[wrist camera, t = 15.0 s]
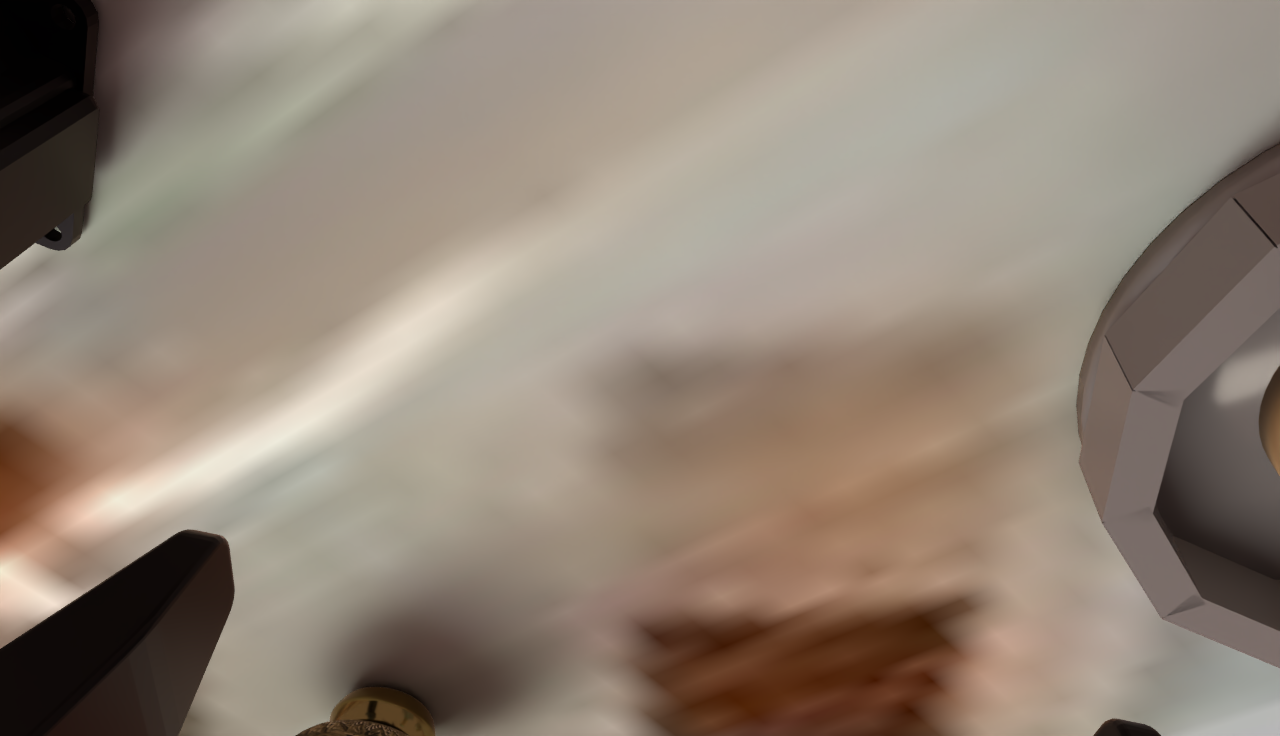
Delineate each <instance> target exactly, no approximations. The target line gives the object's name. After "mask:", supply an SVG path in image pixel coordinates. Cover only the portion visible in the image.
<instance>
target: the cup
mask: <svg viewBox="0 0 1280 736" xmlns="http://www.w3.org/2000/svg"><path fill="white" fill-rule="evenodd" d="M296 736H435V726H434V721H433V718H432V715H431V714H430V712H429V711H428V709H427V708H426V707H425V706H424V705H423V704H422V703H421V702H420V701H418V700H417V699H415V698H414V697H412V696H410V695H408V694H406V693H404V692H401V691H399V690H395V689H391V688H386V687H364V688H360V689H357V690H355V691H353V692H351V693H349V694H348V695H347V696H345V697H344V698H343V699H342V700H341V701H340V702H339V703H338V704H337V705H336V706H335V708H334V709H333V711H332V713H331V716H330V722H326V723H322V724H318V725H316V726H313V727H311V728H309V729H306V730H304V731H302V732H301V733H299V734H298V735H296Z"/></svg>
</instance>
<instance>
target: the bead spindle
mask: <svg viewBox="0 0 1280 736" xmlns="http://www.w3.org/2000/svg"><path fill="white" fill-rule="evenodd" d="M1259 435H1260V439H1261V443H1262V446H1263V449H1264V451H1265V453H1266V455H1267V457H1268V459H1269V460H1270V462H1271V463H1272V465H1273V467H1274V468H1275V470H1276V471H1277V473H1278V475H1279V476H1280V366H1279V367H1278V368H1277V370H1276V371H1275V373H1274V374H1273V376H1272V378H1271V380H1270V382H1269V384H1268V386H1267V388H1266V390H1265V393H1264V396H1263V399H1262V402H1261V406H1260V413H1259Z"/></svg>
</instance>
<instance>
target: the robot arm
mask: <svg viewBox="0 0 1280 736" xmlns="http://www.w3.org/2000/svg"><path fill="white" fill-rule="evenodd" d="M62 5H65V6H66V7H67V8H69V9H70V10H71V11H72V13H73V14H74V16H75V20H76V23H73V22H72V21H70V20H69V19H68V18H67V17H66V15H65V14H64V12H63V7H62ZM98 27H99V19H98V12H97V10H96V8H95V6H94V4H93V2H92V1H91V0H0V269H2V268H3V267H4V266H6V265H7V264H8V263H9V262H11V261H12V260H13V259H15V258H16V257H17V256H19V255H20V254H21V253H22V252H24V251H25V250H26V249H28V248H29V247H30V246H32V245H33V244H34V243H37V244H40V245H42V246H45V247H47V248H50V249H53V250H58V251H60V250H66V249H67V248H68V247H70V246H71V245H72V244H74V243H75V242H76V241H77V240H79V239H80V237H81V234H82V226H83V214H84V205H85V204H86V203H87V202H89V201H90V200H91V198H92V190H93V178H94V167H95V155H96V143H97V131H98V120H99V108H98V106H97V103H96V101H95V98H94V97H93V89H94V76H95V64H96V52H97V39H98ZM56 226H57V227H58V229H59V230H60V231H61V233H60V232H58V231H57V230H55V227H56ZM234 592H235V589H234V579H233V572H232V564H231V556H230V548H229V544H228V541H227V540H226V539H225V538H224V537H223V536H221V535H217V534H212V533H207V532H202V531H197V530H184V531H181V532H178V533H177V534H175V535H173V536H172V537H170V538H169V539H167V540H166V541H164V542H163V543H161V544H160V545H158V546H157V547H155V548H154V549H152V550H151V551H149V552H147V553H146V554H144V555H143V556H141V557H140V558H138V559H137V560H135V561H134V562H132V563H131V564H129V565H128V566H126V567H125V568H123V569H122V570H120V571H118V572H117V573H115V574H114V575H112V576H111V577H109V578H108V579H106V580H105V581H103V582H102V583H100V584H99V585H97V586H96V587H94V588H93V589H91V590H89V591H88V592H86V593H85V594H83V595H82V596H80V597H79V598H77V599H76V600H74V601H73V602H71V603H70V604H68V605H67V606H65V607H64V608H62V609H61V610H59V611H57V612H56V613H54V614H53V615H51V616H50V617H48V618H47V619H45V620H44V621H42V622H41V623H39V624H38V625H36V626H35V627H33V628H32V629H30V630H28V631H27V632H25V633H24V634H22V635H21V636H19V637H18V638H16V639H15V640H13V641H12V642H10V643H9V644H7V645H6V646H4V647H3V648H1V649H0V736H178V734H179V732H180V730H181V728H182V725H183V723H184V720H185V718H186V716H187V713H188V711H189V709H190V706H191V704H192V701H193V699H194V697H195V694H196V692H197V690H198V687H199V685H200V682H201V680H202V678H203V675H204V673H205V671H206V668H207V666H208V663H209V661H210V659H211V656H212V654H213V652H214V649H215V647H216V644H217V642H218V640H219V637H220V635H221V633H222V630H223V628H224V625H225V623H226V621H227V618H228V616H229V613H230V611H231V608H232V604H233V600H234ZM1093 736H1161V735H1160V734H1159V733H1158V732H1157V731H1156V730H1154V729H1153V728H1152V727H1150V726H1147V725H1145V724H1140V723H1136V722H1131V721H1126V720H1121V719H1110V720H1108V721H1106V722H1104V723H1103V724H1102V725H1101V727H1100V728H1099V729H1098V730H1097V732H1096V733H1095V734H1094V735H1093Z"/></svg>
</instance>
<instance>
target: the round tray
mask: <svg viewBox="0 0 1280 736" xmlns="http://www.w3.org/2000/svg"><path fill="white" fill-rule="evenodd" d="M1279 366H1280V144H1278V145H1276V146H1275V147H1273V148H1271V149H1269V150H1267V151H1265V152H1264V153H1262V154H1261V155H1259V156H1258V157H1256V158H1255V159H1253V160H1252V161H1250V162H1249V163H1247V164H1246V165H1244V166H1243V167H1241V168H1240V169H1238V170H1237V171H1235V172H1234V173H1232V174H1231V175H1229V176H1228V177H1226V178H1225V179H1223V180H1222V181H1220V182H1219V183H1218V184H1217V185H1215V186H1214V187H1213V188H1212V189H1210V190H1209V191H1208V192H1207V193H1206V194H1204V195H1203V196H1202V197H1201V198H1199V199H1198V200H1197V201H1196V202H1195V203H1193V204H1192V205H1191V206H1190V207H1188V208H1187V209H1186V210H1185V211H1184V212H1182V213H1181V214H1180V215H1179V216H1178V217H1177V218H1176V219H1175V220H1174V221H1173V222H1172V223H1171V224H1170V225H1169V226H1168V227H1167V228H1166V229H1165V230H1164V231H1163V232H1162V233H1161V234H1160V235H1159V236H1158V237H1157V238H1156V239H1155V240H1154V241H1153V242H1152V243H1151V244H1150V245H1149V247H1148V248H1147V249H1146V250H1145V252H1144V253H1143V254H1142V255H1141V257H1140V258H1139V259H1138V260H1137V262H1136V263H1135V264H1134V265H1133V267H1132V268H1131V269H1130V270H1129V272H1128V273H1127V274H1126V275H1125V277H1124V278H1123V279H1122V281H1121V283H1120V284H1119V286H1118V287H1117V289H1116V291H1115V292H1114V294H1113V296H1112V297H1111V299H1110V300H1109V302H1108V304H1107V305H1106V307H1105V309H1104V310H1103V312H1102V314H1101V316H1100V319H1099V321H1098V323H1097V325H1096V328H1095V330H1094V332H1093V334H1092V337H1091V339H1090V341H1089V343H1088V347H1087V350H1086V354H1085V357H1084V361H1083V365H1082V368H1081V372H1080V376H1079V385H1078V395H1077V405H1076V406H1077V420H1078V433H1079V437H1080V441H1081V444H1082V448H1081V453H1080V458H1079V464H1080V467H1081V470H1082V472H1083V475H1084V477H1085V480H1086V483H1087V485H1088V488H1089V490H1090V493H1091V495H1092V498H1093V501H1094V503H1095V506H1096V508H1097V511H1098V514H1099V516H1100V519H1101V521H1102V524H1103V525H1104V527H1105V528H1106V530H1107V532H1108V533H1109V535H1110V537H1111V538H1112V540H1113V541H1114V543H1115V545H1116V546H1117V548H1118V549H1119V551H1120V553H1121V554H1122V556H1123V557H1124V559H1125V561H1126V562H1127V564H1128V566H1129V567H1130V569H1131V570H1132V572H1133V574H1134V575H1135V577H1136V578H1137V580H1138V582H1139V583H1140V585H1141V586H1142V588H1143V590H1144V591H1145V593H1146V595H1147V596H1148V598H1149V599H1150V601H1151V603H1152V604H1153V606H1154V607H1155V609H1156V611H1157V612H1158V614H1159V615H1160V617H1161V618H1162V619H1163V620H1166V621H1168V622H1171V623H1173V624H1175V625H1178V626H1180V627H1183V628H1185V629H1187V630H1190V631H1192V632H1195V633H1197V634H1199V635H1202V636H1204V637H1207V638H1209V639H1211V640H1214V641H1216V642H1219V643H1221V644H1223V645H1226V646H1228V647H1231V648H1233V649H1235V650H1238V651H1240V652H1243V653H1245V654H1247V655H1250V656H1252V657H1254V658H1257V659H1259V660H1262V661H1264V662H1266V663H1269V664H1271V665H1274V666H1276V667H1278V668H1280V476H1279V475H1278V473H1277V471H1276V470H1275V468H1274V467H1273V465H1272V463H1271V462H1270V460H1269V459H1268V457H1267V455H1266V453H1265V451H1264V449H1263V446H1262V443H1261V439H1260V435H1259V413H1260V406H1261V402H1262V399H1263V396H1264V393H1265V390H1266V388H1267V386H1268V384H1269V382H1270V380H1271V378H1272V376H1273V374H1274V373H1275V371H1276V370H1277V368H1278V367H1279Z"/></svg>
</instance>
